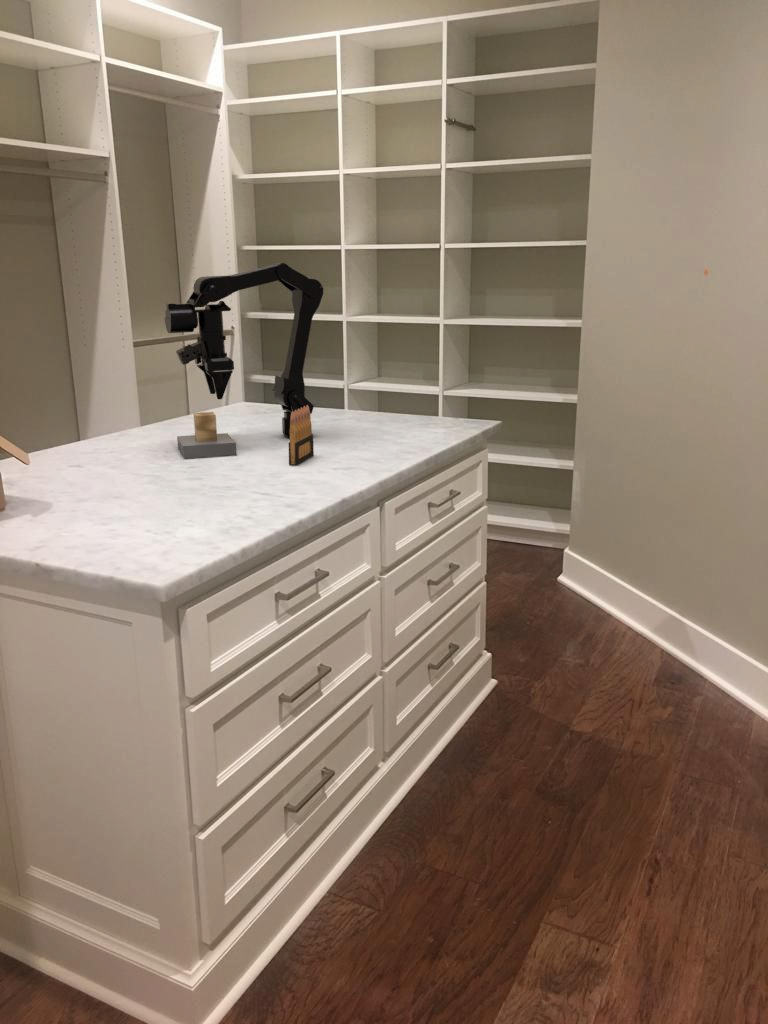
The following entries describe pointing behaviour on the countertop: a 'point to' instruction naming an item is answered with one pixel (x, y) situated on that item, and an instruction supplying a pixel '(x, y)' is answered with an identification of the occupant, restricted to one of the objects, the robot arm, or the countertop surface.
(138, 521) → the countertop surface
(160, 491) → the countertop surface
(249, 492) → the countertop surface
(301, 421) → the ammunition clip
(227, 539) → the countertop surface
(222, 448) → the slate base
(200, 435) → the wooden block
